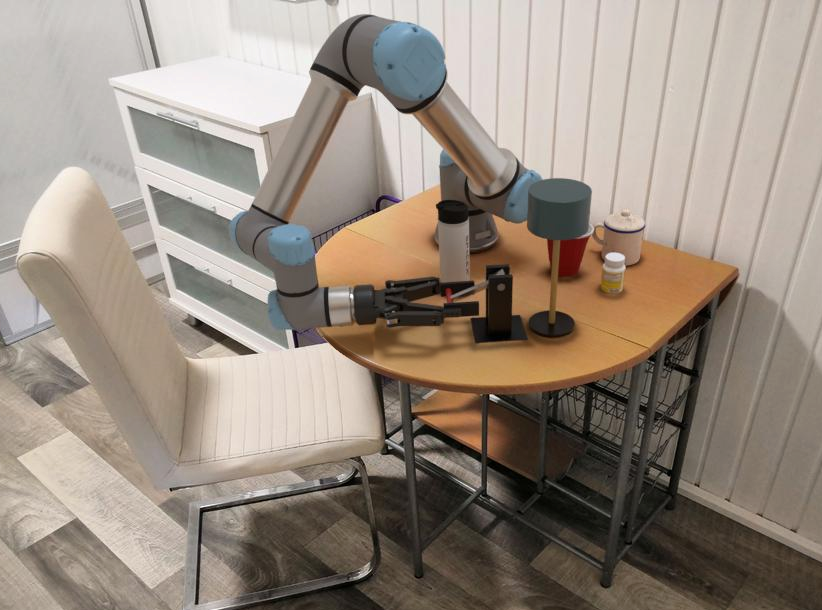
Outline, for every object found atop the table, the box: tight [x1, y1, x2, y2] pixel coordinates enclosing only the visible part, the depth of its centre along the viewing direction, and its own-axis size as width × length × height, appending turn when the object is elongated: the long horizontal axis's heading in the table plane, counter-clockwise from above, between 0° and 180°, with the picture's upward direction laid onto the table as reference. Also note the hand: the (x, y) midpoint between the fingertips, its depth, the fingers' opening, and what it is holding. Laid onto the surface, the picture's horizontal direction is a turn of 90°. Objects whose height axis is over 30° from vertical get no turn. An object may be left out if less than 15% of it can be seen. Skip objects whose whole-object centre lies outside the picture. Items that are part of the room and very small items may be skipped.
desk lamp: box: [526, 177, 593, 339], centre depth 137 cm, size 11×11×29 cm
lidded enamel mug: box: [591, 208, 646, 267], centre depth 167 cm, size 12×9×12 cm
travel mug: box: [435, 200, 471, 283], centre depth 153 cm, size 6×7×20 cm
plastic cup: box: [546, 222, 594, 278], centre depth 160 cm, size 11×11×12 cm
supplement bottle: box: [600, 253, 627, 294], centre depth 154 cm, size 5×5×8 cm
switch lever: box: [445, 269, 505, 303], centre depth 138 cm, size 12×7×2 cm, turn 95°
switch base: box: [470, 263, 528, 344], centre depth 140 cm, size 10×9×14 cm
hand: (476, 297), depth 139 cm, fingers closed on switch lever, 7 cm apart
